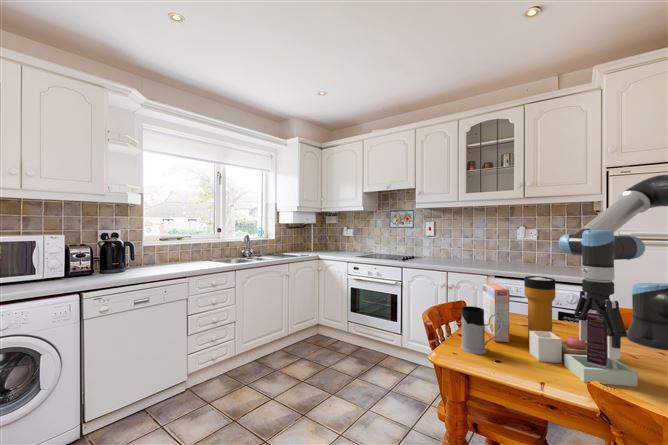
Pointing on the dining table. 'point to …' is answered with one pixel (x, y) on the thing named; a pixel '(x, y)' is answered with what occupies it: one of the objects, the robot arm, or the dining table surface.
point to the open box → (545, 346)
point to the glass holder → (474, 330)
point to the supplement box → (597, 340)
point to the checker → (572, 350)
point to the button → (575, 343)
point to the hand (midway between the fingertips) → (598, 349)
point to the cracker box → (496, 311)
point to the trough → (601, 371)
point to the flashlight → (539, 302)
